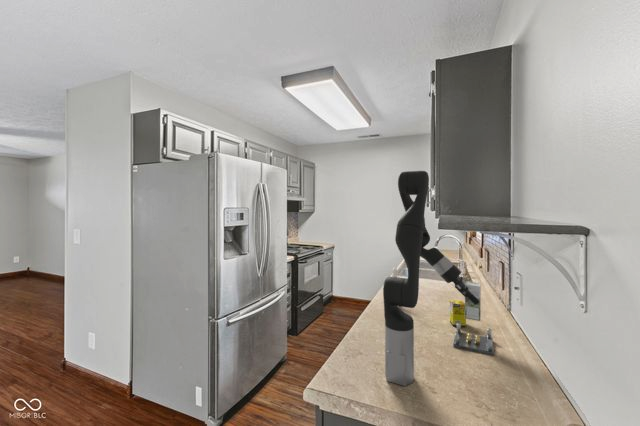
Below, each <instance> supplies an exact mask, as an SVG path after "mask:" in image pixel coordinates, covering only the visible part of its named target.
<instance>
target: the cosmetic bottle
mask: <svg viewBox="0 0 640 426" xmlns="http://www.w3.org/2000/svg"><path fill="white" fill-rule="evenodd" d="M391 272H392V276H391V277H398V268H397V267H392V271H391ZM398 307H400V306H398Z"/></svg>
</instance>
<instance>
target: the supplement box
mask: <svg viewBox="0 0 640 426" xmlns="http://www.w3.org/2000/svg"><path fill="white" fill-rule="evenodd" d="M449 323H450V324H451V326H452V327H457V323H460V324H461V327H462V328H466V327H467V319H466V318H465V301H463V300H458V299H457V300H456V299H455V300H453V299H449Z"/></svg>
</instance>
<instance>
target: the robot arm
mask: <svg viewBox="0 0 640 426" xmlns="http://www.w3.org/2000/svg"><path fill="white" fill-rule="evenodd" d="M429 176H430V175H429V173H428V172H427V171H425V170H414V171H412V170H409V171H401V172H400V173H399V175H398V178H397V187H398V191H399V196H400V199H401V202H402V205H403V209H404V213H403V215H401V217H400V219H399V220H398V222H397V224H396V230H395V236H394V237H395V244H396V246H397V248H398V251H399V253H400V254H401V256H402V257H403V260H404V262H405V265H406V269H407V278H405V277H400V276H399V277H398V276H397V277H392V276H387V277H386V278H385V279H384V282H383V288H382V289H383V290H382V291H383V292H382V295H383V308H384V309H383V313H384V314H383V315H384V336H385V337H384V347H385V349H384V353H385V354H384V355H385V356H384V357H385V358H384V359H385V360H384V361H385V363H384V364H385V365H384V366H385V367H384V368H385V372H384V373H385V377H386V381H387V382H389V383H393V384H397V385H400V386H403V387H407V385H409V384H412V383H413V382H414V379H415V363H414V362H415V353H414V351H415V349H414V347H415V346H414V344H415V343H414V342H415V341H414V340H415V338H414V334H415V332H414V331H415V329H414V325H415V324H414V319H413V317H412V316H411V315H410V314H408V313H406V312H405V311H403V310H402V309H401V308H403V307H404V308H409V309H414V308H415V307H417V304H418V300H419V293H420V292H419V288H420V282H419V281H420V262H421V258H422V259H424V260H425V261H426V262H427V263H428V264H429V265H430V266H431V268H433V269H434V271H435V272H436V273H437V274H438V275H439V276H440V277H441V278H442V279H443V280H444V282H446V283H447V284H450V283H451V282H453V284H454V289H456V290H457V291H458V292H459V293H460V294H461V295H463V296H464V298H465V297H466V298H469V299H470V300H471V301H472V302H473V303H474V304H475V305H477V304H478V303H479V300H478V299H477V298H476V297H475V296H474V295H473V294H472V293H471V292H470V291H469V288H468V287H467V286H465V282H466V281H467V280H466V279H465V278H464V277H463V276H460V275H461V274H462V271H461V270H460V269H459V268H458V267H457V266H456V265H455V264H454V263H453V262H452V261H451V260H450V259H449V258H447V257H446V256H445V255H444V254H443V252H441V251H440V249H438V248H436V247H432V248H430V249H429V248H428V249H426V248H425V247H426V246H427V245H428V244H429V243H430V241H431V236H430V233H429V232H428V230H427V227H426V220H425V210H426V202H427V197H428V191H429V187H430V186H429V183H430V177H429ZM411 196H416V197H415V199H414V200H413V199H412V197H411ZM465 287H466V288H465ZM465 292H467V293H465ZM398 306H399V307H401V308H399V307H398Z"/></svg>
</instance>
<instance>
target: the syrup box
mask: <svg viewBox="0 0 640 426" xmlns="http://www.w3.org/2000/svg"><path fill="white" fill-rule="evenodd" d="M465 286H467V287H468V288H469V291H470V292H471V293H472V294H473V295H474V296H475V297H476V298H477V299H478V300H479V303H478V304H477V305H475V304H474V303H473V302H472V301H471V300H470V299H469V298H466V297H464V303H465V318H466V320H472V321H479V322H480V321H481V320H482V319H481V317H482V315H481V314H482V313H481V312H482V309H481V308H482V307H481V306H482V305H481V304H482V302H481V301H482V300H481V297H482V292H481V291H482V283H481V282H475V281H474V282H473V281H469V280H468V281H467V280H466V282H465ZM465 288H466V287H465ZM465 293H467V292H465Z"/></svg>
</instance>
